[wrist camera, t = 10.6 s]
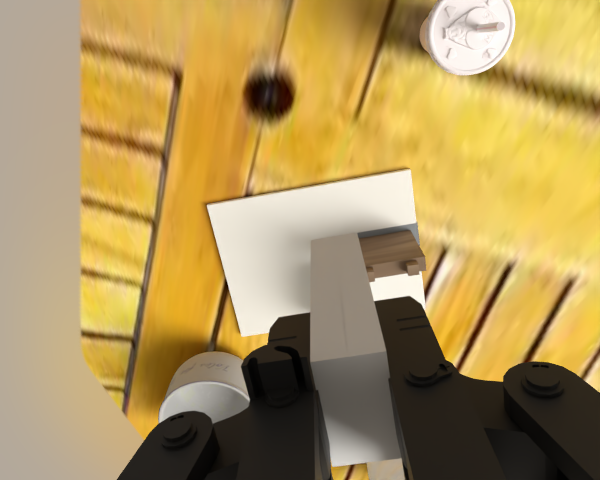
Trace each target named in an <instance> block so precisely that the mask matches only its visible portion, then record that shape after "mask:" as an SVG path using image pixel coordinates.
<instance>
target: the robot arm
mask: <svg viewBox="0 0 600 480" xmlns="http://www.w3.org/2000/svg"><path fill="white" fill-rule="evenodd" d="M241 370H242V373H243V377H244V380H245V384H246V388H247V391H248V395H249V399H250V402H249V407H247V408H246V409H244V410H243V411H241V412H240V413H238V414H236V415H234V416H231V417H229V418H226V419H224V420H221V421H218V422H216V423H212V420H211V418H210V417H209V416H208V415H207V414H205V413H204V412H199V411H186V412H181V413H178V414H175V415H173V416H170V417H168V418H167V419H165V420H164V421H162V422H160V423H159V424H158V425H157V426H156V427H155V428H154V429H153V430H152V431H151V432H150V433H149V435H148V436H147V438H146V439H145V440H144V442H143V443H142V445H141V446H140V447H139V449H138V450H137V452H136V453H135V455H134V456H133V458H132V459H131V460H130V462H129V463H128V465H127V466H126V467H125V469H124V470H123V472H122V473H121V474H120V476H119V477H118V479H117V480H333V477H332V473H331V462H332V467H336V466H344V465H352V464H360V463H368V462H376V461H384V460H392V459H400V458H402V464H403V471H404V478H405V480H600V393H599V392H598V391H597V390H595V389H594V388H593V387H592V386H590V385H589V384H588V383H586V382H585V381H584V380H583V379H581V378H580V377H579V376H577V375H576V374H575V373H573V372H571V371H569V370H568V369H566V368H564V367H562V366H559V365H555V364H552V363H548V362H527V363H521V364H518V365H516V366H514V367H512V368H510V369H509V370H508V371H507V372H506V374H505V375H504V376H503V382H497V381H485V380H478V379H473V378H470V377H467V376H464V375H462V374H460V373H459V372H458V370H457V369H456V368H455V367H454V365H453V364H452V363H450V362H449V361H447V360H445V357H444V355H443V353H442V350H441V348H440V346H439V343H438V341H437V339H436V337H435V334H434V332H433V330H432V327H431V326H430V323H429V320H428V318H427V316H426V313H425V311H424V309H423V306H422V304H421V303H419V302H418V301H416V300H415V299H414V298H412V297H411V296H404V297H398V298H391V299H385V300H378V301H374V299H373V295H372V291H371V287H370V283H369V279H368V275H367V271H366V267H365V263H364V259H363V255H362V251H361V246H360V242H359V238H358V234H357V233H351V234H345V235H339V236H333V237H327V238H321V239H314V240H311V280H310V312H309V313H302V314H296V315H289V316H283V317H278V319H277V320H276V321H275V322H274V324H273V325H272V326H271V327H270V330H269V337H268V343H267V345H265V346H262V347H260V348H258V349H256V350H254V351H252V352H251V353H250V354H249V355H248V356H247V357H246V358H245V359H244V361H243V363H242V365H241ZM330 458H331V462H330Z"/></svg>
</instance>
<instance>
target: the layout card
mask: <svg viewBox="0 0 600 480" xmlns="http://www.w3.org/2000/svg"><path fill="white" fill-rule="evenodd" d="M207 208H208V212H209V216H210V219H211V223H212V227H213V231H214V234H215V238H216V242H217V246H218V249H219V253H220V257H221V261H222V264H223V268H224V272H225V276H226V279H227V283H228V287H229V291H230V294H231V298H232V302H233V306H234V309H235V313H236V317H237V321H238V324H239V328H240V332H241V336H242V337H243V336H250V335H257V334H263V333H269V330H270V327H271V326H272V325H273V324H274V322H275V321H276V320H277V319H278V317H283V316H289V315H296V314H302V313H309V312H310V280H311V240H314V239H321V238H327V237H333V236H339V235H345V234H351V233H357V234H358V238H365V237H371V236H377V235H383V234H389V233H395V232H401V231H407V230H411V232H412V234H413V236H414V237H415V239H416V241H417V243H418V245H419V246H420V243H419V234H418V225H417V222H416V215H415V206H414V197H413V187H412V178H411V170H410V168H409V169H403V170H398V171H392V172H386V173H380V174H375V175H369V176H363V177H358V178H352V179H346V180H341V181H335V182H329V183H324V184H318V185H312V186H306V187H301V188H295V189H289V190H284V191H278V192H272V193H267V194H261V195H255V196H250V197H244V198H238V199H232V200H227V201H221V202H215V203H210V204H207ZM419 274H420V275H413V276H408V274H400V275H394V276H388V277H381V278H375V282H369V283H370V287H371V291H372V295H373V299H374V301H378V300H385V299H391V298H398V297H404V296H411V297H412V298H414V299H415V300H416V301H418V302H419V303H421V304H422V306H423V309H425V299H424V290H423V281H422V271H419Z"/></svg>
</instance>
